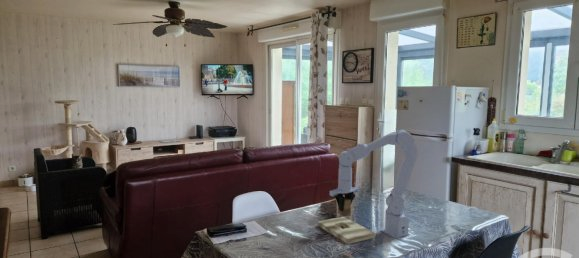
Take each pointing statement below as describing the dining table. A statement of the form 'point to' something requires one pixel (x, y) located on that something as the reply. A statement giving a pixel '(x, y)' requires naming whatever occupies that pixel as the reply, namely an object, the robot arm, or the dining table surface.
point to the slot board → (346, 230)
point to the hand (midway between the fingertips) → (344, 210)
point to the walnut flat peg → (346, 208)
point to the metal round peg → (344, 216)
